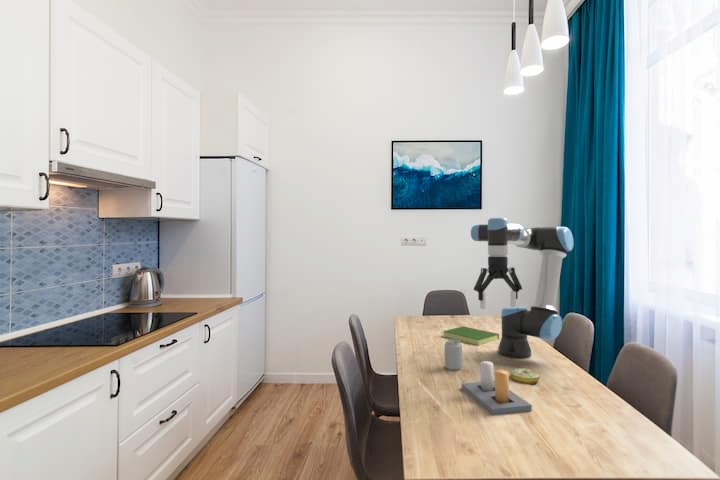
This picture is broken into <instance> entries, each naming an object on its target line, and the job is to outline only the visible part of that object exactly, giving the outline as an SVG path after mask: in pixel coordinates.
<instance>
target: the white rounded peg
mask: <svg viewBox="0 0 720 480" xmlns="http://www.w3.org/2000/svg"><path fill="white" fill-rule="evenodd" d="M493 381H494V362H492V361H487V360H483V361H480V382H481V390H482V391H483V392H487V391H493Z"/></svg>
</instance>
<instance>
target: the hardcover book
mask: <svg viewBox="0 0 720 480" xmlns="http://www.w3.org/2000/svg"><path fill="white" fill-rule="evenodd" d="M444 336H445V337H444ZM443 337H444V338H447V337H449V338H448V339H451V338H452V339H451V340H455V339H456V340H458V341H459V340H460V342H463V341H464V342H463V343H466V344H467V343H468V344H471V343H472V344H471V345H474V346H482V345H485V343H486V344H488V342H489V343H492V342H494V341H498V340H497V339H499V340H500V335H499V333H496V332H493V331H492V332H491V331H486V330H482V329H477V328H473V327H467V326H459V327H455V328H450V329H446V330H443ZM491 341H492V342H491Z"/></svg>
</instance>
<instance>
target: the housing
mask: <svg viewBox="0 0 720 480" xmlns="http://www.w3.org/2000/svg"><path fill="white" fill-rule="evenodd" d="M461 389H462V390H463V391H465V393H467V394H468V395H469V396H470V397H471V398H472V399H473V400H475V401H476V402H477V403H478V404H479V405H481V407H482V408H484V410H486V411H487V412H489V413H490V414H491V415H492V416H495V415H503V414H514V413H522V412H523V413H524V412H532V409H533V408H532V407H533V406H532V404H531V403H529V402H528V401H527V400H525V399H524V398H523V397H521V396H519V395H517V393H515V392H513V391H512V390H510V389H509V403H502V404H498V403H497V402H496V401H495V380H493V391H487V392H483V391H482V390H481V381H475V382H462V383H461Z"/></svg>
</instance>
